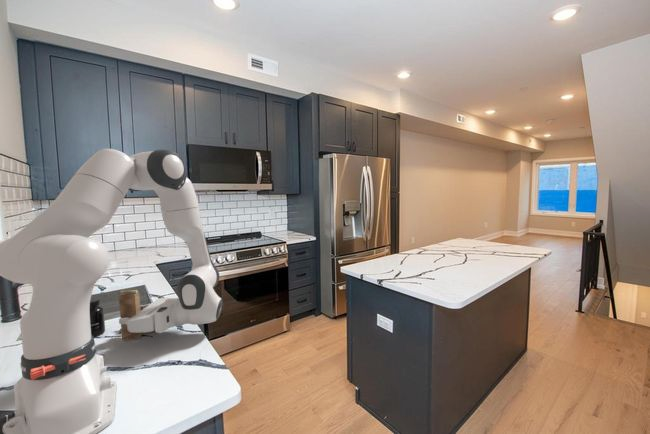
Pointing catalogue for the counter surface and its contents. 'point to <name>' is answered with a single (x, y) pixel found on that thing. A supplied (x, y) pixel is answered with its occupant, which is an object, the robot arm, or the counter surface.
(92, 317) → the supplement bottle
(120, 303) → the brown tall rectangular block
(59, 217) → the robot arm
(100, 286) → the counter surface
